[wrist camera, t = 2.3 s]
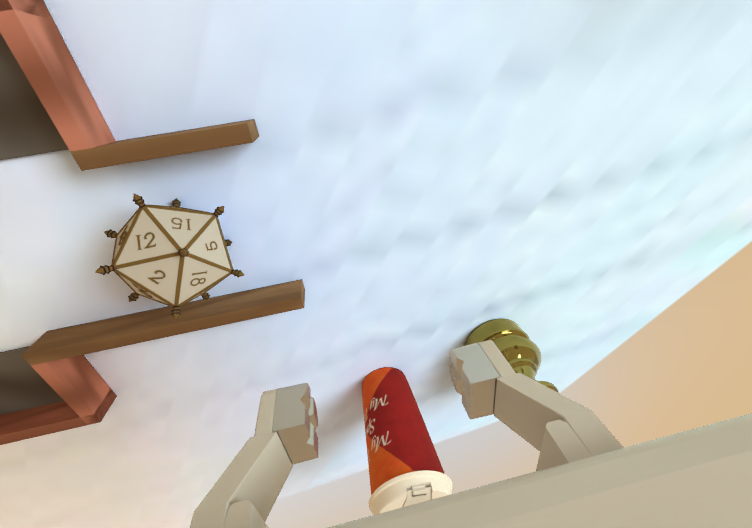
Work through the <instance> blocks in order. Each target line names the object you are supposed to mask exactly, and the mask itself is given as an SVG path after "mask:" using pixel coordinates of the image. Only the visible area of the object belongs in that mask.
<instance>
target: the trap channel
mask: <svg viewBox="0 0 752 528" xmlns="http://www.w3.org/2000/svg"><path fill="white" fill-rule="evenodd" d="M258 137H259V133H258V130H257V127H256V123H255V120H254V119H252V120H246V121H240V122H233V123H227V124H221V125H215V126H208V127H202V128H196V129H190V130H183V131H177V132H171V133H165V134H158V135H152V136H146V137H140V138H133V139H127V140H121V141H115V139H114V137H113V135H112V133H111V132H110V130H109V128H108V126H107V124H106V122H105V120H104V118H103V116H102V114H101V112H100V110H99V108H98V106H97V104H96V102H95V100H94V98H93V96H92V94H91V93H90V91H89V89H88V87H87V85H86V83H85V81H84V79H83V77H82V75H81V73H80V71H79V69H78V67H77V65H76V63H75V61H74V59H73V57H72V55H71V54H70V52H69V50H68V48H67V46H66V44H65V42H64V40H63V38H62V36H61V34H60V32H59V30H58V28H57V26H56V24H55V22H54V20H53V18H52V16H51V14H50V13H49V11H48V9H47V7H46V5H45V3H44V1H43V0H0V160H4V159H10V158H16V157H22V156H29V155H35V154H41V153H47V152H54V151H60V150H66V149H69V150H70V152H71V154H72V155H73V157H74V159H75V160H76V162H77V164H78V165H79V167H80V169H81V170H82V171H83V170H89V169H95V168H101V167H107V166H113V165H119V164H125V163H131V162H137V161H143V160H149V159H155V158H161V157H167V156H173V155H179V154H185V153H192V152H198V151H204V150H210V149H216V148H222V147H228V146H234V145H240V144H246V143H252V142H254V141H255V140H256V139H257V138H258ZM304 300H305V288H304V285H303V282H302V279H301V280H296V281H292V282H287V283H282V284H277V285H272V286H267V287H262V288H257V289H252V290H247V291H242V292H238V293H233V294H228V295H223V296H218V297H213V298H209V300H206V299H204V300H198V301H193V302H188V303H185V304H184V305H182V306H180V307H179V309H180V311H181V312H180V314H181V315H179V317H178V318H177V319H175V318H174V317H173V316H172V315H171V314H172V312H171V311H172V310H173V307H171V306H169V307H164V308H159V309H154V310H149V311H144V312H139V313H134V314H129V315H125V316H120V317H115V318H110V319H105V320H100V321H95V322H90V323H85V324H80V325H75V326H71V327H66V328H61V329H56V330H51V331H47V332H46V333H45V334H44V335H42V336H41V337H40V338H39V339H38V340H37V341H36V342H35V343H34V344H33V345H32V346H29V347H24V348H20V349H15V350H10V351H5V352H0V445H2V444H7V443H11V442H15V441H20V440H24V439H28V438H33V437H37V436H42V435H46V434H50V433H55V432H59V431H63V430H68V429H72V428H77V427H81V426H85V425H90V424H94V423H98V422H101V421H102V419H103V417H104V416H105V414H106V413H107V411H108V409H109V408H110V406H111V405H112V403H113V402H114V400H115V398H116V397H117V396H116V395H115V393H114V392H113V391H112V390H111V388H110V387H109V386H108V385H107V384H106V382H105V381H104V380H103V379H102V378H101V376H100V375H99V374H98V373H97V371H96V370H95V369H94V368H93V367H92V365H91V364H90V363H89V362H88V361H87V359H86V358H85V357H84V356H83V354H88V353H93V352H98V351H102V350H107V349H112V348H117V347H121V346H126V345H131V344H136V343H140V342H145V341H150V340H155V339H159V338H164V337H169V336H173V335H178V334H183V333H188V332H192V331H197V330H202V329H207V328H211V327H216V326H221V325H226V324H230V323H235V322H240V321H245V320H249V319H254V318H259V317H263V316H268V315H273V314H278V313H282V312H287V311H292V310H297V309H301V308H304Z"/></svg>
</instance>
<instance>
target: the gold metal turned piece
mask: <svg viewBox="0 0 752 528" xmlns="http://www.w3.org/2000/svg"><path fill="white" fill-rule="evenodd" d="M487 340H491V341H493V342H494V344H495V345H496V346H497V348H498V349H499V350H500V352H501V353H502V355H503V356H504V357H505V359H506V360H507V362H508V363H509V364H510V366H511V367H512V369H513V370H514V371H515V373H516V374H517V373H521V374H523V375H525V376H527V377H529V378H531V379H533V380H535V376H536V374H537V371H538V369H539V367H540V364H541V352H540V350H539V348H538V347H537V345H536V344H534V343H533V342H532V341H531V340H530V339H529V337H528V335H527V334H526V333H525V332H524V331H523V330H522V329H521V328H520V327H519V326H518V324H516V323H515V322H514V321H511V320H508V319H495V320H491V321H488V322H486V323H484V324H482V325H480V326H479V327H478V328H476V329H475V330H474V331H473V332H472V333H471V335H470V336H469V337H468V339H467V341H466V345H470V344H474V343H479V342H483V341H487ZM466 345H465V346H466ZM535 381H536V380H535ZM537 382H539V383H541V384H542V385H544V386H546V387H548V388H550V389H552V390H554V391H556V392H558V390H557V388H556V387H555V386H554V385H553V384H552V383H549V382H546V381H537ZM558 393H559V392H558Z"/></svg>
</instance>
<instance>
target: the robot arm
mask: <svg viewBox="0 0 752 528" xmlns="http://www.w3.org/2000/svg"><path fill="white" fill-rule="evenodd" d="M450 359H451V361H452V364H451V365H450V373H451V378H452V381H453V384H454V387H455V389H456V391H457V392H458V393H459V394H461V395H462V404H463V406H464V408H465V410H466V412H467V414H468V416H469V418H470V419H474V418H479V417H483V416H488V415H492V414H494V416H495V417H496V418H498V419H499V420H500V421H502V422H503V423H504V424H506V425H507V426H508V427H509V428H511V429H512V430H513V431H514V432H516V433H517V434H518V435H520V436H521V437H522V438H524V439H525V440H526V441H527V442H529V443H530V444H531V445H532V446H534V447H535V448H536V449H537V450H539V451H540V456H539V460H538V464H537V469H536V472H533V473H529V474H525V475H522V476H518V477H514V478H511V479H507V480H503V481H499V482H496V483H492V484H488V485H485V486H481V487H477V488H473V489H469V490H466V491H462V492H458V493H454V494H451V495H447V496H443V497H440V498H436V499H432V500H428V501H425V502H421V503H417V504H414V505H410V506H406V507H402V508H399V509H395V510H391V511H388V512H384V513H380V514H377V515H373V516H369V517H365V518H362V519H358V520H354V521H351V522H347V523H343V524H339V525H336V526H332V527H329V528H752V414H748V415H744V416H740V417H737V418H733V419H729V420H726V421H722V422H718V423H715V424H711V425H707V426H703V427H699V428H696V429H692V430H689V431H685V432H681V433H677V434H673V435H670V436H666V437H663V438H659V439H655V440H651V441H647V442H644V443H640V444H636V445H633V446H629V447H625V448H624V447H623V446H622V445H621V444H620V443H619V441H617V439H616V438H615V437H614V436H613V435H612V434H611V432H610V431H609V430H608V429H607V428H606V426H605V425H604V424H603V423H602V422H601V421H600V419H599V418H598V417H597V416H596V415H595V414H594V412H593V411H592V410H590V409H588V408H586V407H584V406H583V405H581V404H578V403H577V402H575V401H573V400H571V399H569V398H567V397H565V396H563V395H562V394H560V393H558V392H556V391H554V390H552V389H550V388H548V387H546V386H544V385H542V384H541V383H539V382H537V381H535V380H533V379H531V378H529V377H527V376H525V375H523V374H521V373H517V374H516V373H515V371H514V370H513V369H512V367H511V366H510V364H509V363H508V362H507V360H506V359H505V357H504V356H503V355H502V353H501V352H500V350H499V349H498V348H497V346H496V345H495V344H494V342H493V341H491V340H487V341H483V342H479V343H474V344H470V345H466V346H462V347H458V348H453V349H450ZM317 426H318V418H317V409H316V405H315V401H314V398H313V397H311V396H310V387H309V385H308V383H303V384H298V385H293V386H289V387H284V388H279V389H275V390H270V391H265V392H263V394H262V396H261V400H260V406H259V412H258V418H257V424H256V429H255V435H254V437H252V438H249V440H248V441H247V442H246V444H245V445H244V446H243V448H242V449H241V450H240V452H239V453H238V454H237V456H236V457H235V458H234V460H233V461H232V462H231V464H230V465H229V466H228V467H227V469H226V470H225V471H224V473H223V474H222V475H221V477H220V478H219V479H218V481H217V482H216V483H215V485H214V486H213V487H212V489H211V490H210V491H209V493H208V494H207V495H206V497H205V498H204V499H203V501H202V502H201V503H200V505H199V506H198V507H197V509H196V510H195V511H194V514H193V518H192V521H191V525H190V528H268V527H267V525H266V524H265V521H266V519H267V517H268V515H269V513H270V511H271V509H272V507H273V505H274V503H275V501H276V499H277V497H278V495H279V493H280V491H281V489H282V487H283V485H284V483H285V481H286V479H287V477H288V475H289V473H290V471H291V469H292V467H293V464H297V463H300V462H304V461H307V460H311V459H314V458H318V437H317V434H316V431H315V429H316V428H317Z"/></svg>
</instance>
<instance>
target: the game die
mask: <svg viewBox="0 0 752 528" xmlns="http://www.w3.org/2000/svg"><path fill="white" fill-rule="evenodd" d="M133 201H134V202H135V204H137V205H138V206H139V209H138V210H137V211H136V212H135V213H134V215H133V216H132V217H131V218H130V219H129V221H128V222H127V223H126V224H125V225H124V227H123V228H122V229H121V230H120V231H119V233H116V232H115V231H112V230H109V231H105V234H106V235H107V237H111V238H116V240H115V247H114V253H113V259H112V265H111V266H107V265H105V266H100V268H99V269H98V270H97V271H96V272H97V273H100V274H103V275H105V274H106V273H107V274H109V273H110V272H111V271H114V272H115V273H116V274H117V275H118V276H119V277H120V278H121V279H122V280H123V281H124V282H125V283H126V284H127V285H128V286H129V287H130V288H131V289H132V290H133V291H134V292H135V293H132V294H131V295H130V296H128V297H129V302H130V301H136V299H138V296H139V295H141V296H144V297H146V298H149V299H152V300H155V301H157V302H160V303H163V304H166V305H168V306H171V307H173V310H172V311H171V312H172V314H171V315H172V316H173V317H174V318H175V319H177V318H178V317H179V315H181V314H180V312H181V311H180V309H179V307H180V306H182V305H184V304H185V303H187V302H189V301H191V300H193V299H195V298H197V297H198V296H200V295H202V298H203V300H204V299H206V300H209V296H210V295H208V293H206V292H207V291H208V290H210V289H211V288H212V287H214V286H215V285H216V284H218V283H219V282H221V281H222V280H223V279H225V278H226V277H228V276H229V275H230V274H233V275H234V276H237V277H240V276H244V274H243V273H242V272H241V270H240V271H239V270H238V269H237V270H234V269H233V267H232V264H231V260H230V257H229V254H228V250H227V247H226V246H230V244H231V243H232V242H231V241H229V239H228V240H224V237H223V233H222V230H221V227H220V223H219V220H218V215H222V213H224V206H222V207H217V209H215V212H214V213H209V212H204V211H198V210H192V209H187V208H181V207H179V206H180V203H181V202H180V201H179V200H178V199H177V198H176V199H175V200H174V201H172V202H173V206H174V207H173V206H158V205H145V204H144V200H143V199H142V196H141V197H140V196H138V195H136V194H134V198H133Z"/></svg>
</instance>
